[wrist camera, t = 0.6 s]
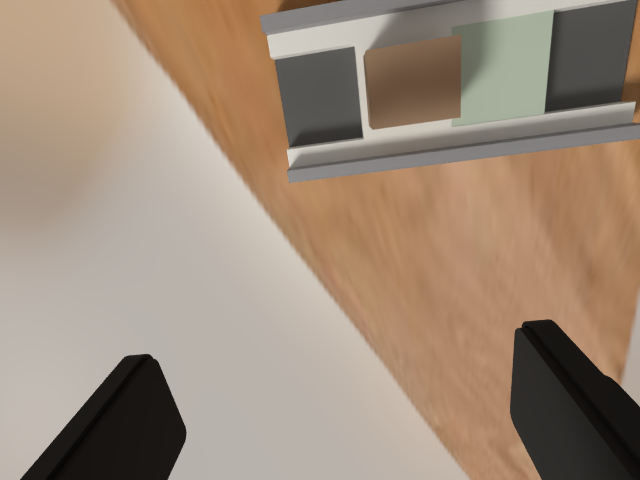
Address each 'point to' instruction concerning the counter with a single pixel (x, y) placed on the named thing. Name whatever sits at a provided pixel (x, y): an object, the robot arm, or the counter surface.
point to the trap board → (476, 80)
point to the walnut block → (413, 82)
